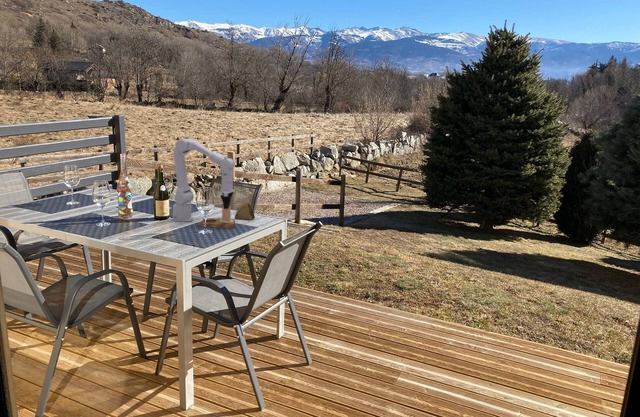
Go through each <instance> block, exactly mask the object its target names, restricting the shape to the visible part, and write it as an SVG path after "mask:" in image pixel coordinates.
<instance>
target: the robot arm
mask: <svg viewBox="0 0 640 417" xmlns="http://www.w3.org/2000/svg"><path fill="white" fill-rule="evenodd" d="M174 146H175V147H174V151H173V160H174V168H175V175H176V182H177V183H176V184H177V187H176V189H175V196H174V201H175V203H174V204H173V206H172V222H191V221H192V220H193V219H194V217H193V216H192V201H193V200H194V193H193V191H192V187H191V186H190V185H189V181H188V173H187V166H186V155H187V154H188V153H190V152H191V151H197V152H198V153H201V154H202V155H204V156H205V157H208V159H209V162H212V163H213V164H215V165H217V166H219V168H220V170H221V190H220V191H221V193H222V194H221V195H220V198H221V201H222V205H223V206H222V207H224V209H228V208H229V207H230V205H231V201H232V197H233V194H234V193H235V191H236V190H235V189H233V185H234V184H233V182H234V168H235V165H236V164H235V160H234V159H232V157H227V156H226V155H223V154H221V153H220V151H219V150H213V151H212V150H210V149H209V148H207V147H206V146H204V145H203V144H201V143H200V142H199V141H198V140H197V139H194V138H191V137H189V138H180V139H178V140H177V141H176V142H175V143H174Z"/></svg>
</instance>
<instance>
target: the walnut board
mask: <svg viewBox="0 0 640 417" xmlns="http://www.w3.org/2000/svg"><path fill="white" fill-rule="evenodd" d="M204 218H205V217H203V218H202V220H201V221H200V223H199V227H200V228H208V227H212V229H215V228H216V229H218V228H219V229H221V228H223V229H234V227H235V225H234V224H236V219H235V218H232V219H233V222H232V223H222V222H220V220H221V219H222V217H221V218H220V217H219V218H216V217H215V218H214V217H213V218H212V217H206V218H207V220H206V223H205V219H204ZM205 224H206V227H204V225H205Z"/></svg>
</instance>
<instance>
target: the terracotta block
mask: <svg viewBox="0 0 640 417" xmlns="http://www.w3.org/2000/svg"><path fill="white" fill-rule="evenodd" d="M231 209H232V208H231V206H229V208H228V209H224V206H222V208H221V212H222V213H221V218H222V221H230V219H232V218H231V213H232V212H231Z"/></svg>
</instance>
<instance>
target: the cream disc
mask: <svg viewBox="0 0 640 417" xmlns="http://www.w3.org/2000/svg"><path fill="white" fill-rule="evenodd" d="M233 219H234V218H230V221H222V219H221V220H220V222H222V223H232V222H233Z"/></svg>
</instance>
